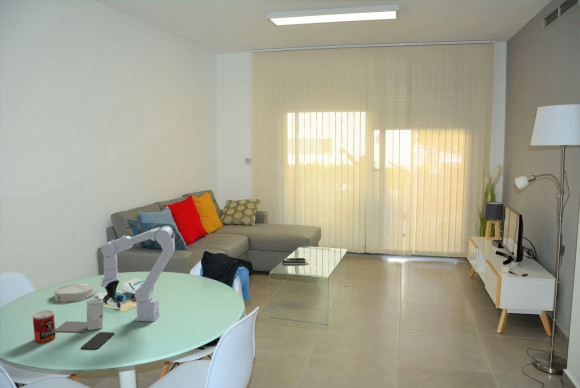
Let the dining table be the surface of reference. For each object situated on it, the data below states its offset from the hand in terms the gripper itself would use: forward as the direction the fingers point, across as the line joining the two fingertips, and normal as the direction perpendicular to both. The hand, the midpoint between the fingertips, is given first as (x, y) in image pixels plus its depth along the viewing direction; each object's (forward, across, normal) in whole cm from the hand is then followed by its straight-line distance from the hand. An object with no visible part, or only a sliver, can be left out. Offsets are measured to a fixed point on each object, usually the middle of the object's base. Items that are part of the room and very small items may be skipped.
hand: (111, 297), depth 207 cm
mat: (+11, +10, -12) cm, 19 cm away
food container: (+12, -28, -34) cm, 46 cm away
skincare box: (+10, +10, -3) cm, 15 cm away
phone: (+11, +22, +5) cm, 25 cm away
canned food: (+11, +22, -18) cm, 31 cm away
